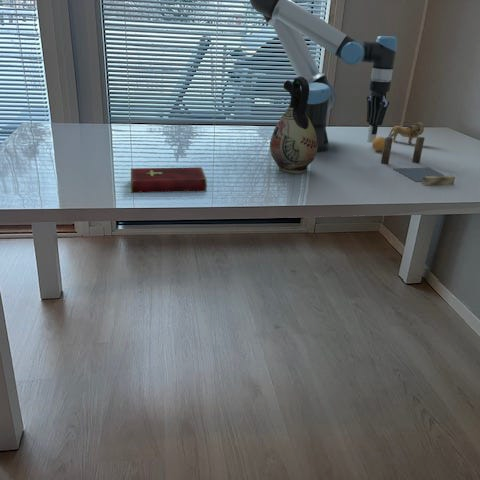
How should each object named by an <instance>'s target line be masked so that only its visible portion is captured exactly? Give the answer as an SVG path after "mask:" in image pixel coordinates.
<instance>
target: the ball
mask: <svg viewBox="0 0 480 480" xmlns="http://www.w3.org/2000/svg"><path fill="white" fill-rule="evenodd" d="M385 138H386V137H383V136H378V137H377V136H376V138H375V139H374V141H373V142H371V144H372V145H371V146H372V148H373V150H374V151H376V152H383V148H384V142H385Z"/></svg>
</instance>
